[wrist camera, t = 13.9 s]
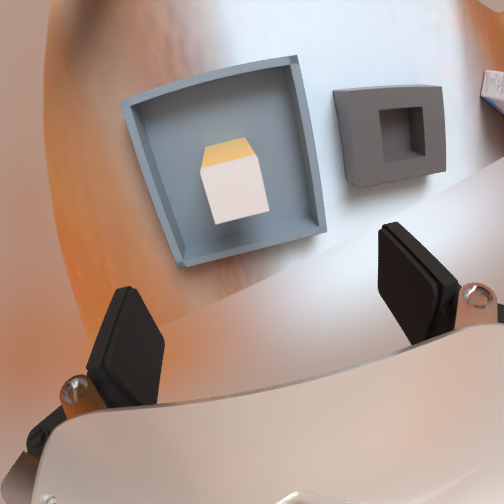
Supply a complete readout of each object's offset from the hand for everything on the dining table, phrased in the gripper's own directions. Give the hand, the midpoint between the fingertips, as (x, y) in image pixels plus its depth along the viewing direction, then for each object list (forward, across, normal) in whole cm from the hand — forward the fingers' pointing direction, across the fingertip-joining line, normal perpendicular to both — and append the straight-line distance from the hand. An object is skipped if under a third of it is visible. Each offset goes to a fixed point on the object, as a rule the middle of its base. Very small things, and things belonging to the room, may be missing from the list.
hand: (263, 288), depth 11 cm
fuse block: (+22, -17, 0) cm, 28 cm away
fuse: (+21, +1, 0) cm, 21 cm away
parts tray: (+22, +1, 0) cm, 22 cm away
